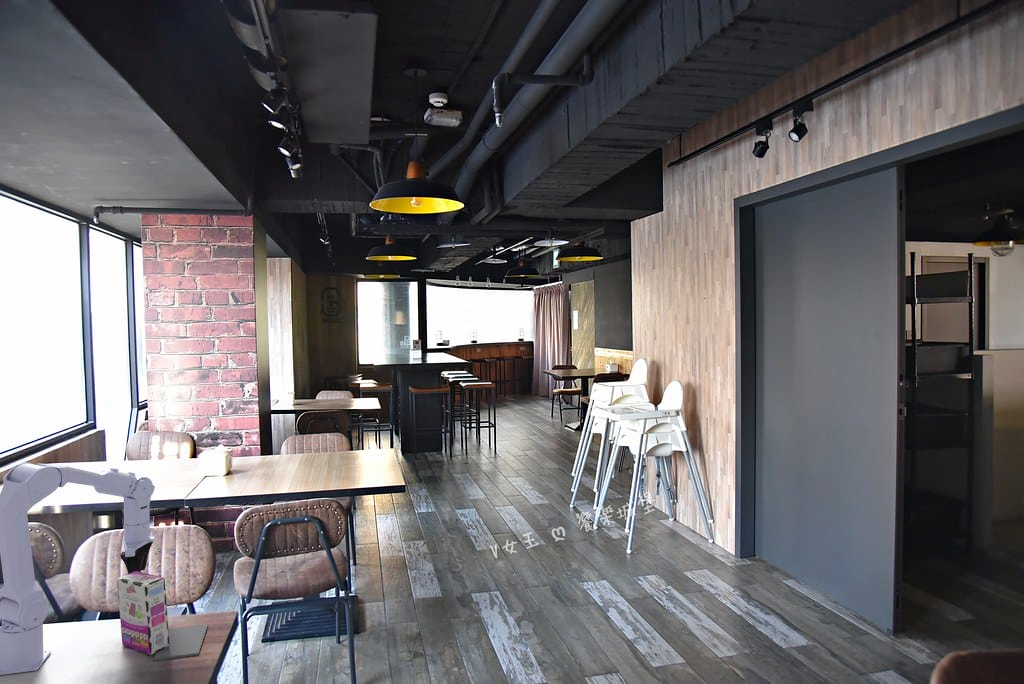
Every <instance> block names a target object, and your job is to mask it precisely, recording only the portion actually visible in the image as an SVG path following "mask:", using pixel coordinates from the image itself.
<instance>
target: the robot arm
mask: <svg viewBox="0 0 1024 684" xmlns="http://www.w3.org/2000/svg"><path fill="white" fill-rule="evenodd" d="M2 481H3V482H2V483H3V485H2V488H1V490H0V562H1V571H2V577H3V587H1V588H0V620H1V626H0V676H2V675H10V674H12V675H13V674H19V673H28V672H35V671H38V670H39V669H40V667H41V666H42V665H43V663H45V661H46V660H47V659H48V657H49V655H50V654H51V652H52V651H51V649H50V650H44V625H43V624H44V621H45V619H47V617H48V615H49V612H50V603H49V602H48V600H47V599H46V598H45V596H44V590H43V589H42V588H41V586H40V585H39V584H38V582H37V581H36V576H35V570H34V569H35V568H34V560H33V551H32V544H31V543H32V542H31V536H30V535H31V534H30V526H29V519H28V518H29V517H28V512H29V511H30V509H32V508H33V507H34V506H35V505H37V504H38V503H40V502H41V501H43V500H44V499H45V498H47V497H49V496H50V495H52V494H53V493H54V492H56V491H57V489H58V488H63V487H65V485H67V483H69V484H78V485H84V486H91V487H93V489H94V490H95V492H96V493H98V494H103V495H110V496H115V497H121V498H123V537H124V538H123V539H124V540H123V542H122V544H123V546H124V551H122V552H121V553H120V554H119V557H120V559H121V560H122V561H123V563H124V566H125V568H126V571H127V574H129V573H132V572H135V571H138V572H142V571H145V570H146V567H147V562H148V557H149V553H150V550H151V548H152V545H153V543H154V542H155V540H156V537H155V536H151V535H150V532H151V531H150V530H151V528H150V527H151V523H150V521H151V520H150V519H151V518H150V503H151V500H152V499H151V498H152V495H153V494H154V492H155V490H156V489H155V488H156V486H155V485H154V484H153V482H152V479H150V477H147V476H140V475H136V473H135V472H132V471H131V472H128V473H125V472H121V471H119V468H113V467H110V468H109V469H103V470H101V471H100V472H98V473H97V472H93V471H89V470H83V469H80V468H76V467H71V466H66V465H61V464H52V463H51V464H49V463H36V464H33V463H32V462H25V461H24V462H20V463H18V464H15V465H14V466H12V468H11V469H10V470H9V471H8V472H7V473H6V474H5V475H4V476H2Z"/></svg>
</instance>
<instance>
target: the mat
mask: <svg viewBox="0 0 1024 684" xmlns="http://www.w3.org/2000/svg"><path fill="white" fill-rule="evenodd" d="M207 627H209V624H201V625H199V624H198V625H191V626H184V627H175V628H168V631H169V643H170V645H169V646H168V647H166V648H164V649H162V650H160V651H158V652H157V653H155V654H154V655H153V656H154V657H153V661H163V660H172V659H178V658H186V656H187V657H193V656H194V655H195V656H199V655H200V651H201V649H200V648H202V646H201V645H203V643H204V640H203V639H205V637H204V636H206V634H205V633H207V631H208V628H207ZM206 630H207V631H206Z"/></svg>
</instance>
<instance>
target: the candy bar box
mask: <svg viewBox="0 0 1024 684" xmlns="http://www.w3.org/2000/svg"><path fill="white" fill-rule="evenodd" d="M116 581H117V583H116V584H117V593H118V594H117V595H118V607H119V608H118V609H119V617H120V618H119V620H120V633H121V645H122V646H123V647H125V648H129V649H131V650H135V651H137V652H141V653H144V654H146V655H150V656H152V655H155V654H156V653H157V652H158V651H160V650H162V649H164V648H166V647H168V646H169V645H170V643H169V631H168V629H169V621H168V617H169V616H168V607H167V606H168V605H167V593H166V580H165V577H163V576H158V575H156V574H155V575H154V574H150V573H146V572H142V571H141V572H138V571H135V572H132V573H129V574H128V573H127V574H124V575H122V576H120V577H117V578H116Z"/></svg>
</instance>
